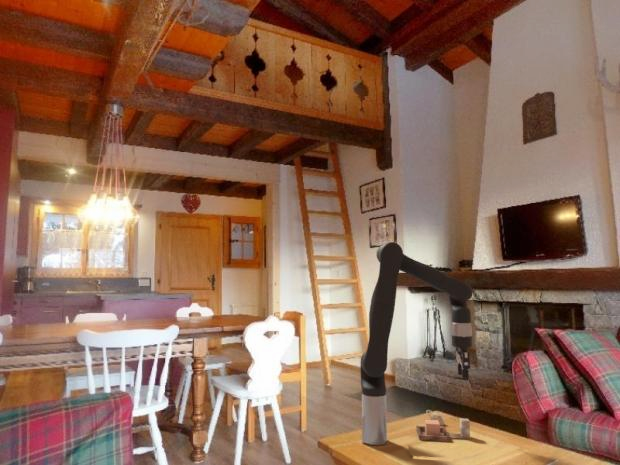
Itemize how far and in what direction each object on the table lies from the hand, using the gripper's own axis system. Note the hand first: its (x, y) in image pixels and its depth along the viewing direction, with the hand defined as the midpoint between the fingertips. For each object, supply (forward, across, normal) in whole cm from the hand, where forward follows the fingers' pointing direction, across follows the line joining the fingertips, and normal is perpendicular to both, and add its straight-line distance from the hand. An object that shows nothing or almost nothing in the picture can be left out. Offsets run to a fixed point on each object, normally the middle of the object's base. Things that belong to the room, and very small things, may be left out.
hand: (463, 377), depth 167 cm
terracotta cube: (+22, 0, -12) cm, 25 cm away
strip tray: (+23, 0, -8) cm, 24 cm away
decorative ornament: (+23, -16, -8) cm, 29 cm away
